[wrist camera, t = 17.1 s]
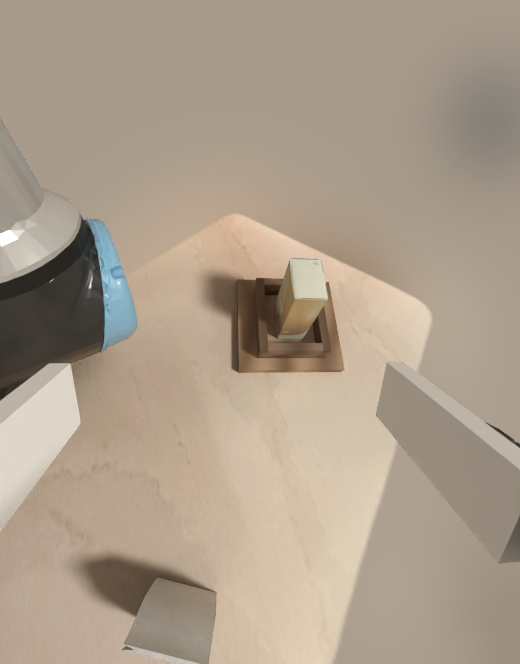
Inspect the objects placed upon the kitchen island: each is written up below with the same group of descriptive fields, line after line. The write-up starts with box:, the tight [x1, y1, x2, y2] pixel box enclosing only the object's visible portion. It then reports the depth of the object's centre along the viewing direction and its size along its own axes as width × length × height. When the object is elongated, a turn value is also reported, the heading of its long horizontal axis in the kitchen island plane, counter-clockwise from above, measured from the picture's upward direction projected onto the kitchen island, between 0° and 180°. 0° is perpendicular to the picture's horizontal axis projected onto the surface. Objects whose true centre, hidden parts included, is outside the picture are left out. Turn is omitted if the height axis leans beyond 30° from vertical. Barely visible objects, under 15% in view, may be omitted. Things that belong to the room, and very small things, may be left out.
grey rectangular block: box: [122, 577, 216, 664], centre depth 27 cm, size 4×7×10 cm, turn 77°
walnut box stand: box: [237, 278, 344, 373], centre depth 46 cm, size 16×16×4 cm
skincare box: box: [274, 258, 328, 339], centre depth 42 cm, size 6×4×12 cm
